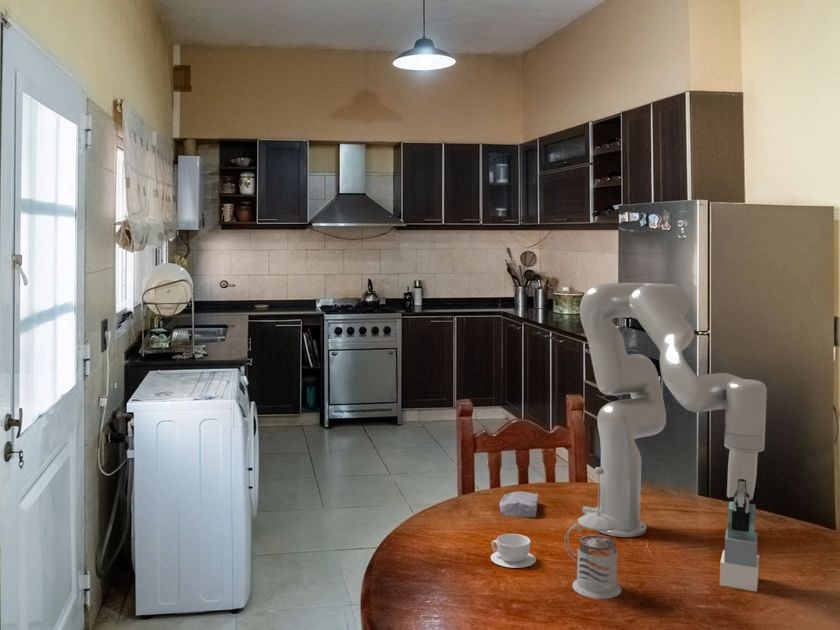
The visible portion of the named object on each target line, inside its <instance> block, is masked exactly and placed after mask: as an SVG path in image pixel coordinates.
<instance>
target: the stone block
mask: <svg viewBox="0 0 840 630" xmlns="http://www.w3.org/2000/svg"><path fill="white" fill-rule="evenodd" d="M498 506H499V511H500V513H501V512H502V513H501V514H502V515H503V516H504V515H505V516H504V517H508V516H516V517H515V518H524V517H532V518H531V519H534V517H535V518H536V517H537V511H538V506H539V493H532V492H526V491H514V492H509V493H505V494H503V497H502V498H501V499H500V502H499V505H498ZM517 516H519V517H517ZM520 516H522V517H520Z"/></svg>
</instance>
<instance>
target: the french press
mask: <svg viewBox="0 0 840 630" xmlns="http://www.w3.org/2000/svg"><path fill="white" fill-rule="evenodd" d="M593 473H594V474H596V475H598V478H597V479H598V482H597V483H598V484H597V485H598V487H597V489H598V490H597V507H598V513H589V514H586V515H585V514H583V515H582V516H580V517H579V518H577V523H576V524H574V525H572V526H571V527H570V528H568V530H567V531H566V533H565V535H564V547H565V550H566V553H567V554H568V556H569V557H570V558H571V559H573V561H575V562H576V579H575V580H574V581H573V583H572V585H571V586H572V589H573V590H574V592H576V593H578V594H579V595H582V596H585V597H587V598H592V599H598V600H599V599H611V598H616V597H618V596H619V595H620V594H622V593H621V592H622V588H621V586H620V585H619V583H617V578H618V577H617V575H618V574H617V573H618V572H617V571H618V570H617V569H618V563H617V562H618V548H616V544H617V542H616V541H615V540H614V539H613V538H611V537H609V536H605V535H599V531H610V530H614V529H616V528H617V527H618V525H619V523H618V522H617V520H615V519H614V518H613V517H611V516H608V515H606V514H602V513H599V506H600V479H601V474H604V470H603V469H602V468H601V466H597V467H595V468H594V471H593ZM582 527H583V528H584V529H588V530H591V531H597V534H588V535H584V536H582V537H580V538H579V543H580V545H578V546H577V554H576V553H575V552H574V551H573V550H572V548H571V545H570V533H571V531H572V529H574V528H576V529H577V533H580V532H581V531H582ZM566 542H567V543H566ZM567 545H568V547H567ZM568 548H569V550H570V552H571V553H572V554H573V555H574V556H575V557H576V558H577V559H575V558H574V557H573V556H572V555H571V554H570V553H569V550H568ZM607 552H608V553H609V554H610V555H609V554H608V553H607ZM598 553H599V554H600V555H592V554H598ZM601 555H603V556H601ZM589 562H590V563H589ZM605 569H606V570H605Z"/></svg>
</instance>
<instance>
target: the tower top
mask: <svg viewBox="0 0 840 630" xmlns="http://www.w3.org/2000/svg"><path fill="white" fill-rule="evenodd" d="M724 550H725V553H724V563H731V564H737V565H743V566H750V567H756V562H757V555H758V532H755V533H754V541H749V540H742V539H735V538H728V528H726V530H725V538H724Z"/></svg>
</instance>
